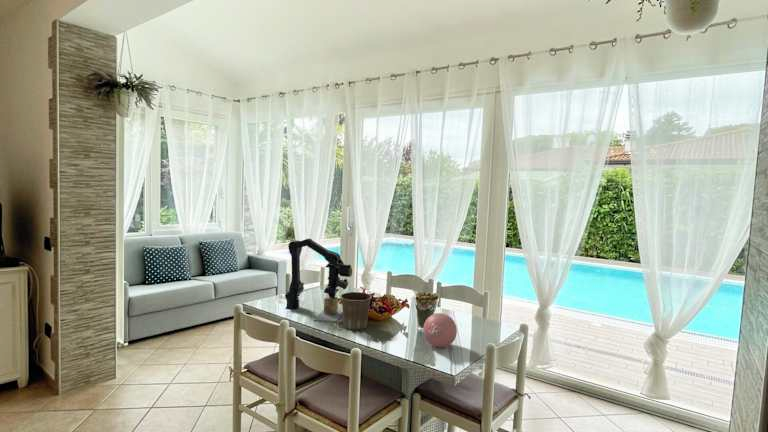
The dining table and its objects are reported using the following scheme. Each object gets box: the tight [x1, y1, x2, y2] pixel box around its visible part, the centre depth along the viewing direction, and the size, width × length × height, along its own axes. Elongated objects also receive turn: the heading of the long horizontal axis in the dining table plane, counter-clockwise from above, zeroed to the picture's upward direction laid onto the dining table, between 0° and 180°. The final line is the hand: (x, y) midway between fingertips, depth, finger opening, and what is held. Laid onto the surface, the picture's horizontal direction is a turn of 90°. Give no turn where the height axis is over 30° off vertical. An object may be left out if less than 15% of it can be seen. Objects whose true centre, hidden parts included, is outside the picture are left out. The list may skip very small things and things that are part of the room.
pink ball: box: [422, 312, 458, 349], centre depth 185 cm, size 15×20×15 cm
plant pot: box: [340, 291, 373, 331], centre depth 211 cm, size 16×16×16 cm
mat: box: [313, 309, 343, 323], centre depth 226 cm, size 12×18×1 cm, turn 174°
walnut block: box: [323, 296, 339, 315], centre depth 229 cm, size 7×4×9 cm, turn 84°
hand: (332, 302), depth 233 cm, fingers closed
